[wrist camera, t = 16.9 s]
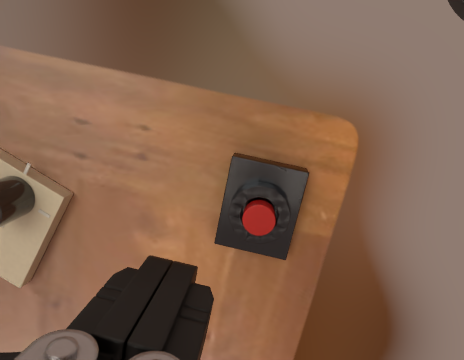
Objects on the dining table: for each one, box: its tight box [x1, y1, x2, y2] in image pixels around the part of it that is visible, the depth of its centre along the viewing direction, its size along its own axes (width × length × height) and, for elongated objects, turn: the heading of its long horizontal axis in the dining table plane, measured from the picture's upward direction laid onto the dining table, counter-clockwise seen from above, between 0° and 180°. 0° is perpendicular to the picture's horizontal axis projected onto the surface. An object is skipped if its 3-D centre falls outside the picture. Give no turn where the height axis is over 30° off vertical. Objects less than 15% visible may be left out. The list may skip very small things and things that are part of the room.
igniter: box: [214, 153, 309, 260], centre depth 36 cm, size 10×8×4 cm
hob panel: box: [0, 149, 73, 288], centre depth 40 cm, size 16×10×2 cm, turn 149°
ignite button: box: [242, 200, 276, 236], centre depth 33 cm, size 3×3×2 cm
